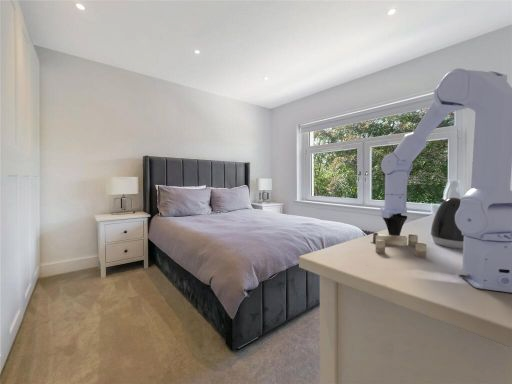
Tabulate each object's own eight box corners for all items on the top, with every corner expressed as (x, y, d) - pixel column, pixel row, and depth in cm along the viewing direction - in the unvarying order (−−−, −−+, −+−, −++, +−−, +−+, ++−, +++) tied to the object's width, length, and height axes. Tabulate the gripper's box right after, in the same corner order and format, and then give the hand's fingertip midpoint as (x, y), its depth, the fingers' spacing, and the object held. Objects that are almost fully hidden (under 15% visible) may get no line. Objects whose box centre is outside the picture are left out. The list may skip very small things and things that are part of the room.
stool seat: (433, 265, 55) (434, 247, 55) (372, 258, 60) (373, 242, 59) (415, 248, 68) (416, 234, 68) (367, 244, 73) (367, 230, 73)
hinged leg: (373, 243, 69) (373, 233, 69) (372, 241, 71) (372, 232, 71) (406, 246, 66) (407, 235, 66) (405, 244, 68) (405, 234, 68)
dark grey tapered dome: (456, 244, 73) (458, 196, 72) (485, 254, 63) (488, 199, 62) (422, 243, 74) (424, 196, 73) (445, 253, 64) (448, 198, 63)
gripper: (390, 193, 78) (389, 232, 79) (371, 195, 69) (370, 239, 70) (415, 194, 73) (413, 236, 74) (397, 196, 64) (395, 244, 64)
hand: (394, 238), depth 71 cm, fingers closed
